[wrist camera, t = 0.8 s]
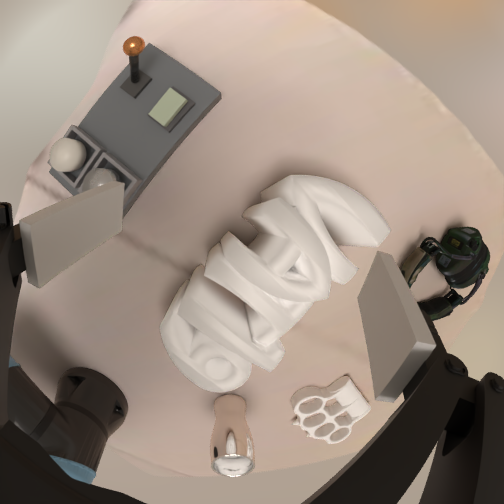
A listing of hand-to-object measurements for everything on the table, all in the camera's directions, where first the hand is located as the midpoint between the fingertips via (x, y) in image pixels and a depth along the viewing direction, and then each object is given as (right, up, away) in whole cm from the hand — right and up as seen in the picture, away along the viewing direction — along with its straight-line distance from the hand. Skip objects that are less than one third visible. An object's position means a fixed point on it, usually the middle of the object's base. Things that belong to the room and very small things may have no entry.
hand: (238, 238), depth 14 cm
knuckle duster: (+16, -32, +39) cm, 53 cm away
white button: (-24, +12, +19) cm, 33 cm away
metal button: (-18, +8, +21) cm, 29 cm away
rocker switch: (-10, +18, +21) cm, 29 cm away
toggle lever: (-15, +22, +19) cm, 33 cm away
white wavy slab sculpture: (+2, -4, +31) cm, 31 cm away
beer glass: (-4, -29, +36) cm, 46 cm away
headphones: (+34, -4, +34) cm, 48 cm away
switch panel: (-17, +17, +24) cm, 34 cm away
